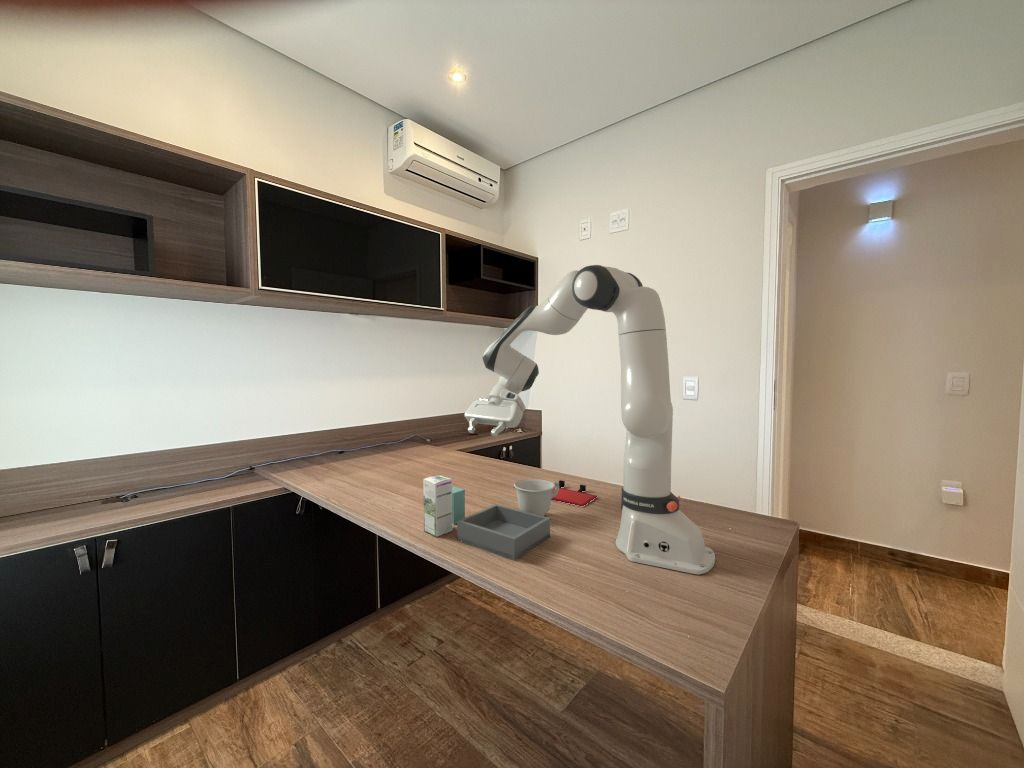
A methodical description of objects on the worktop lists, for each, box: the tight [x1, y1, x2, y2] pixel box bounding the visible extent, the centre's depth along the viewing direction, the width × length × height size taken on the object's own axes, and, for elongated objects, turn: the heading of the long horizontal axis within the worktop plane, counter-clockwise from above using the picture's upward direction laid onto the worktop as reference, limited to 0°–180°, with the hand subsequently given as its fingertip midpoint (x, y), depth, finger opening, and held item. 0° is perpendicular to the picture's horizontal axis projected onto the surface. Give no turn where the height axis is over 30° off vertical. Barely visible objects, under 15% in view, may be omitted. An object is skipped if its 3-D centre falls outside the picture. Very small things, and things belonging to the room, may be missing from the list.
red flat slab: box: [551, 479, 598, 507], centre depth 142 cm, size 30×3×15 cm
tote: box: [456, 503, 551, 561], centre depth 104 cm, size 18×16×5 cm
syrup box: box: [422, 474, 453, 538], centre depth 108 cm, size 6×6×14 cm
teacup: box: [513, 478, 559, 517], centre depth 119 cm, size 12×15×10 cm
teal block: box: [452, 486, 466, 526], centre depth 116 cm, size 4×4×9 cm
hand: (481, 433), depth 125 cm, fingers open, 8 cm apart
